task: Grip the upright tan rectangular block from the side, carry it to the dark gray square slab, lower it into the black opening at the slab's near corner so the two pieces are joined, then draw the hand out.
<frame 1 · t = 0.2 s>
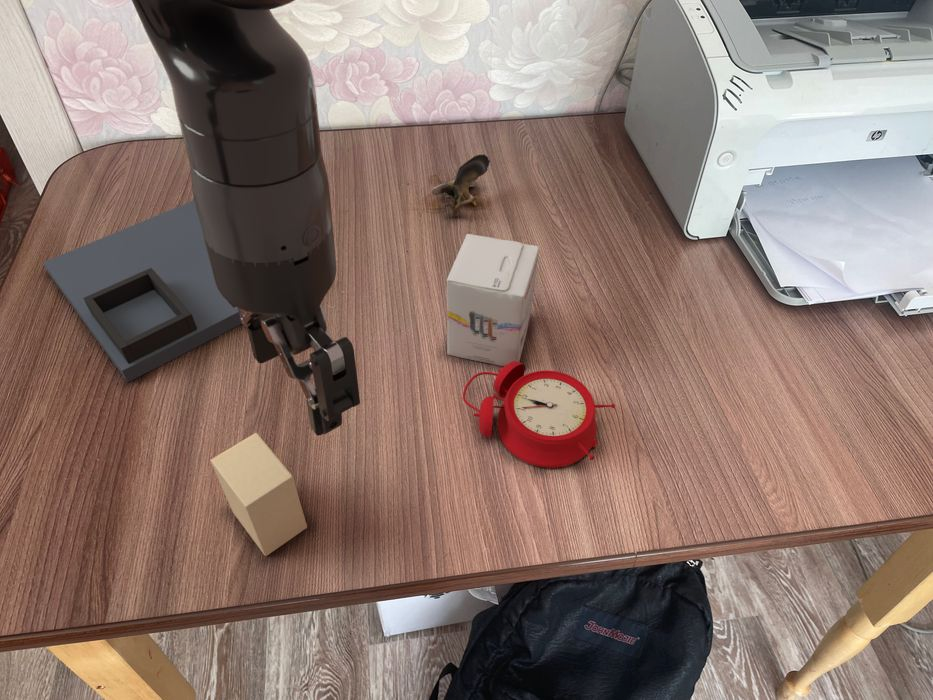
hand: (297, 390, 54), 19 cm above the table, tool pointing down, fingers open, 8 cm apart
dark gray square slab: (181, 280, 89), on the table
ink box: (489, 338, 84), on the table
eagle figurine: (461, 203, 101), on the table
alarm clock: (531, 423, 76), on the table
tan rectangular block: (269, 519, 67), on the table
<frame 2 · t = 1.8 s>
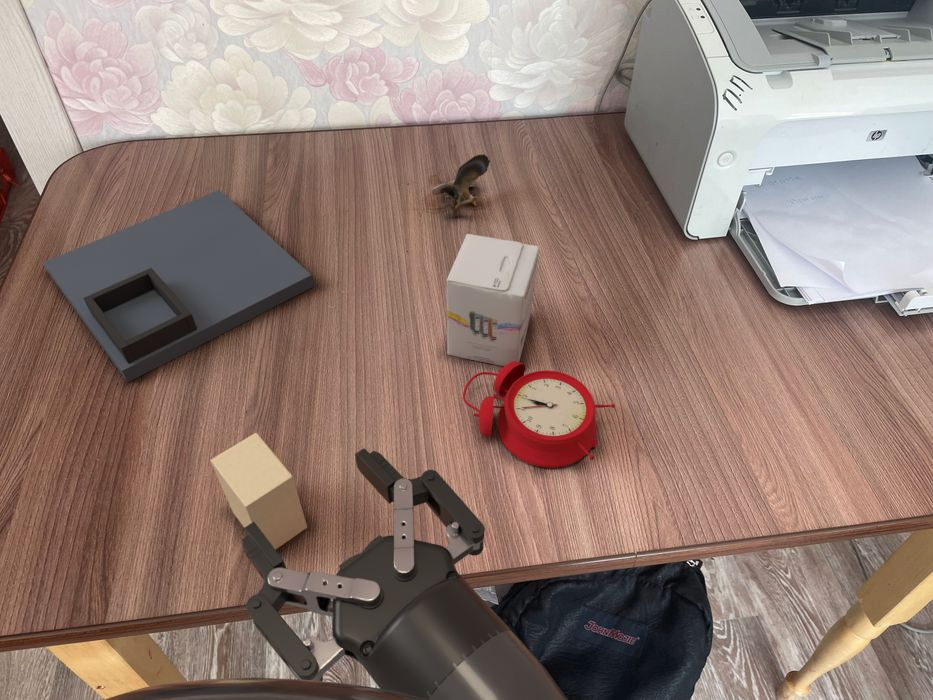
hand: (307, 492, 47), 19 cm above the table, tool horizontal, fingers open, 8 cm apart
nothing on the table moved.
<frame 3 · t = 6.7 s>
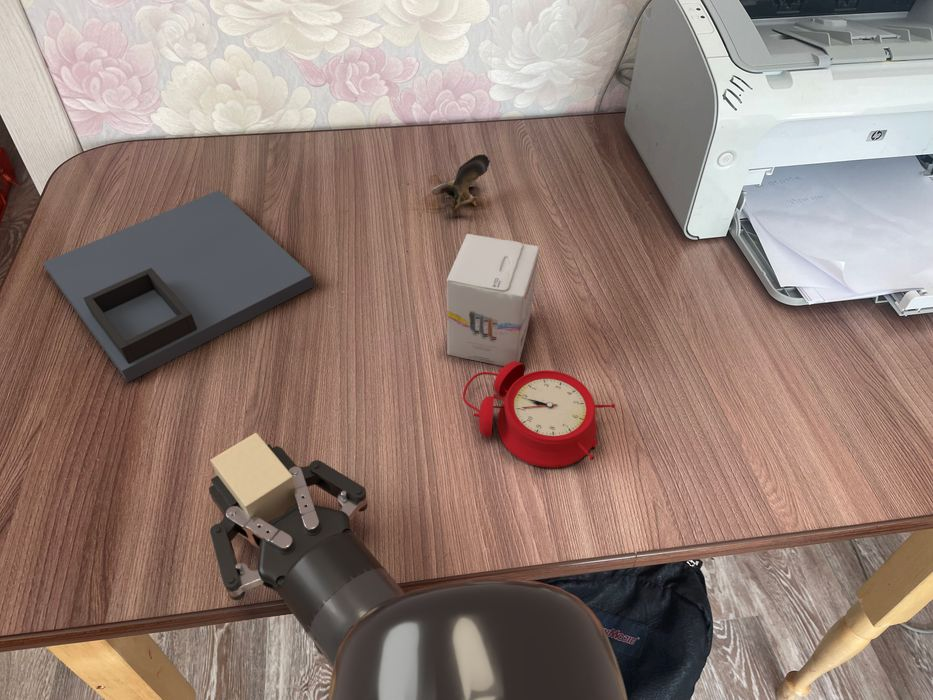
hand: (242, 466, 64), 6 cm above the table, tool horizontal, fingers closed on tan rectangular block, 4 cm apart
tan rectangular block: (269, 519, 67), on the table, touching gripper
everything else where it was.
when the fingers open (8 cm above the table, at t = 16.0 s): tan rectangular block stays where it is, resting on dark gray square slab.
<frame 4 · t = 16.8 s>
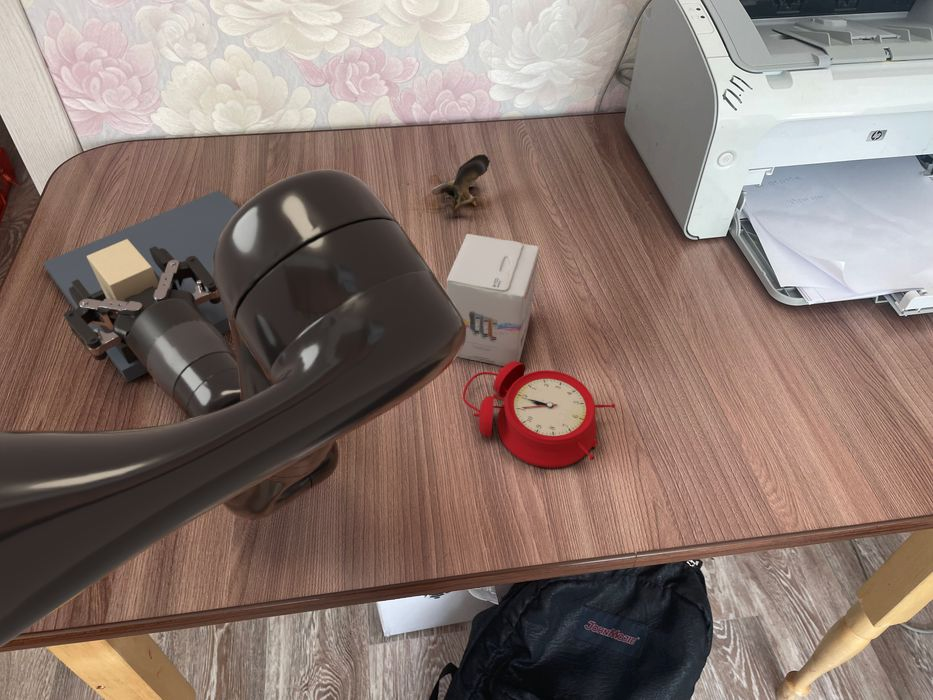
hand: (116, 269, 77), 9 cm above the table, tool horizontal, fingers open, 8 cm apart
tan rectangular block: (145, 321, 81), point 2 cm above the table, touching dark gray square slab
everything else where it was.
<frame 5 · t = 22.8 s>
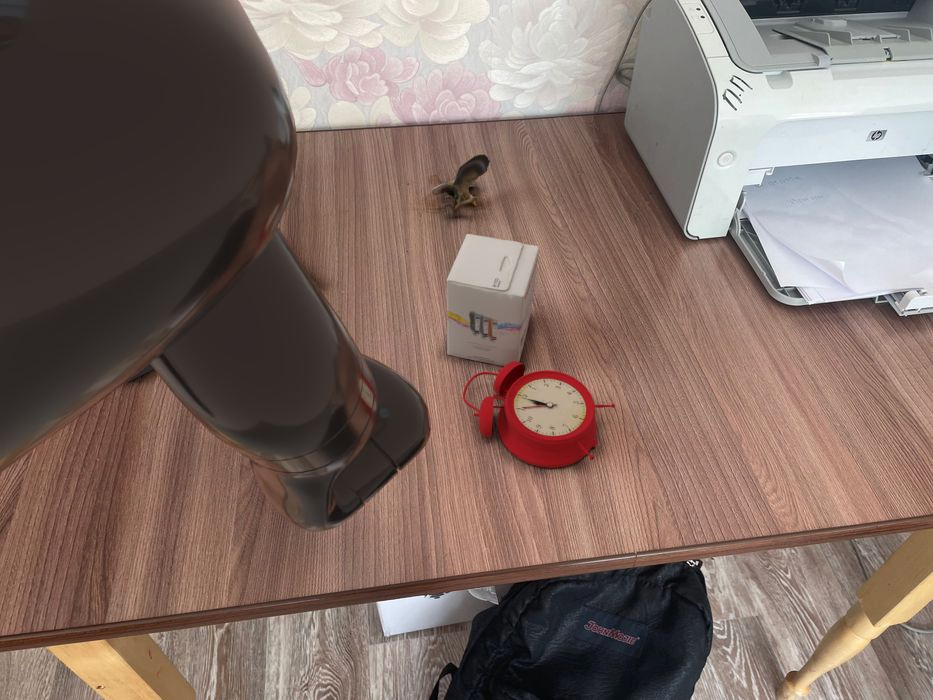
hand: (112, 190, 58), 26 cm above the table, tool horizontal, fingers open, 8 cm apart
nothing on the table moved.
at the end: tan rectangular block 0.1 cm from the target spot on the dark gray square slab, point 2.0 cm above the dark gray square slab's base; tan rectangular block tilted 0°; the gripper is holding nothing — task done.
